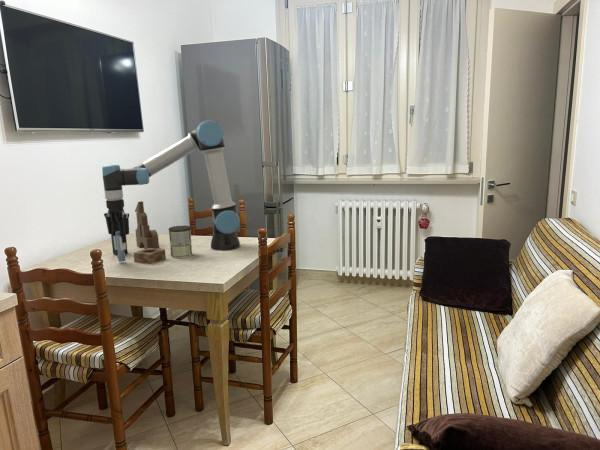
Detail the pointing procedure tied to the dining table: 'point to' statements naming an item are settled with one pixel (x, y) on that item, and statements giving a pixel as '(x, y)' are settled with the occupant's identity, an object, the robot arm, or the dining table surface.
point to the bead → (149, 255)
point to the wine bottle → (114, 246)
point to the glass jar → (180, 241)
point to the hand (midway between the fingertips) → (120, 249)
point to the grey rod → (119, 248)
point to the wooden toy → (145, 230)
